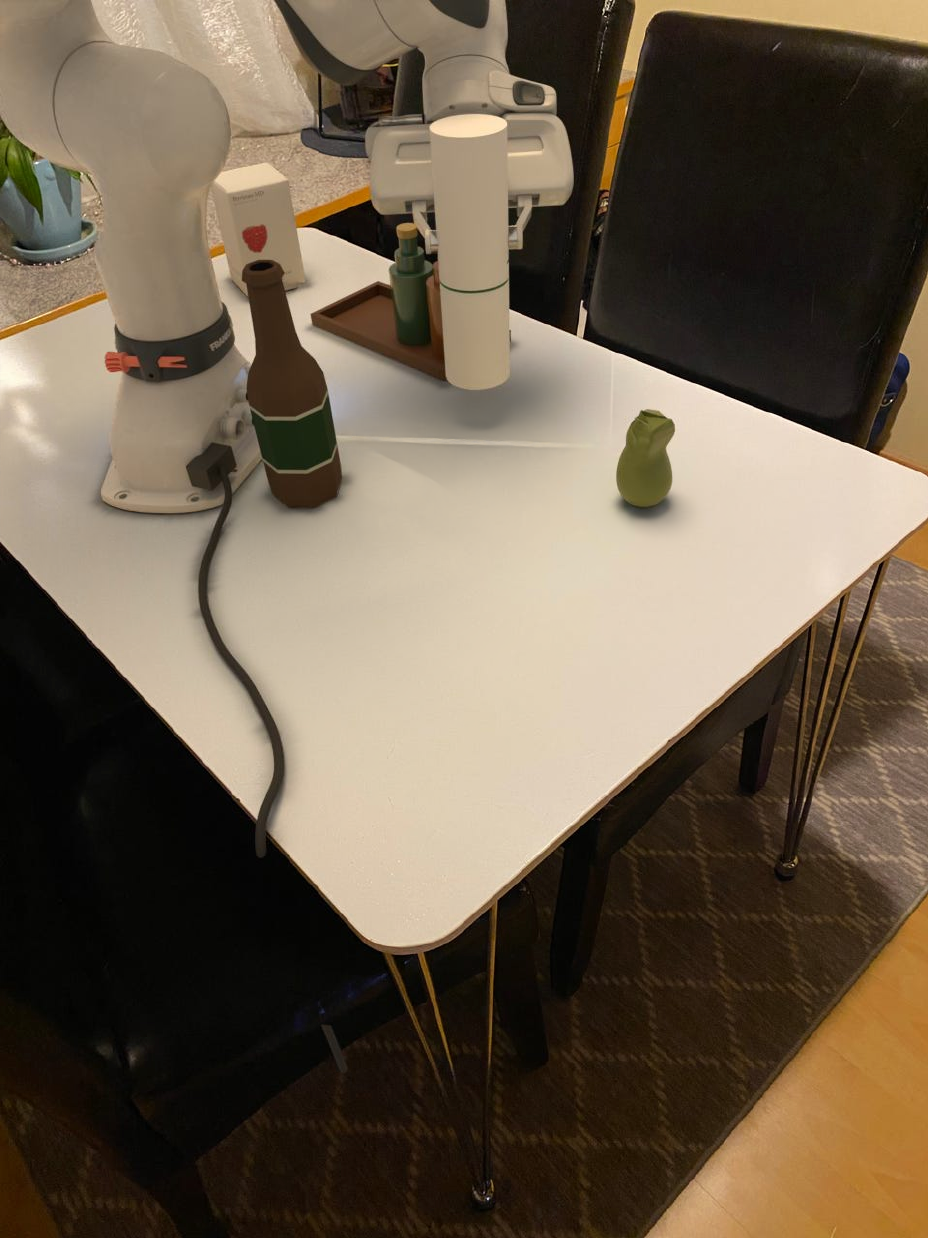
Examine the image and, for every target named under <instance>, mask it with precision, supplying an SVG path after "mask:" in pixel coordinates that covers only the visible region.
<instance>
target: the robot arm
mask: <svg viewBox="0 0 928 1238" xmlns="http://www.w3.org/2000/svg"><path fill="white" fill-rule="evenodd" d="M273 2H274V3H275V5H276V6H277V8H278V10H279V12H280V14H281V16H282V18H283V20H284V22H285V24H286V26H287V29H288V31H289V33H290V35H291V38H292V40H293V43H294V44H295V46H296V48H297V50H298V52H299V54H300V55H301V57H302V58H303V60H304V61H305V63H306V64H307V65H308V66H309V67H310V68H311V69H312V70H313V71H314V72H316V73H317V74H319V75H320V76H322V77H323V78H325V79H327V80H329V81H330V82H333V83H336V84H338V85H341V86H346V87H347V86H348V87H349V86H354V85H357V84H358V83H360V82H361V81H363V80H364V79H365V78H367V77H369V76H370V75H372V74H373V73H374V72H376V71H378V70H379V69H381V68H382V67H383V66H384V65H386V64H387V63H389V62H391V61H394V60H395V59H397V58H399V57H401V56H403V55H405V54H406V53H409V52H411V51H413V50H415V49H417V50H418V51H420V53H422V54H423V57H424V69H423V72H422V78H421V80H422V82H421V83H422V86H421V87H422V104H423V105H422V107H423V112H422V113H417V114H415V113H414V114H405V115H400V116H393V115H385V116H381V117H379V118H378V120H377V121H374V122H372V123H371V124H370V125H369V126H368V128H367V129H366V131H365V134H364V143H365V144H364V145H365V153H366V156H367V158H368V159H369V160H370V168H369V193H370V200H371V203H372V206H373V208H374V209H375V210H376V211H377V212H378V213H379V214H380V215H382V216H387V215H408V214H412V220H413V224H415V225H416V227H417V230H418V231H419V232H420V234H421V236H422V237H423V238H424V243H425V244H424V247H425V253H426V255H433V254H436V255H438V249H439V245H438V241H437V234H436V229H431V227H430V226H429V224H428V213H435V205H434V189H433V174H432V159H431V144H430V129H429V128H430V125H431V124H432V123H433V122H435V121H437V120H440V119H442V118H446V117H450V116H456V115H464V114H484V115H492V116H497V117H500V118H502V119H504V120H505V121H506V122H507V151H508V209H516V216H517V217H518V219H517V221H516V223H515V224H514V225H508V247H509V250H523V246H524V245H523V244H524V243H523V242H524V239H523V238H524V237H523V236H524V235H523V232H524V231H525V229H526V226H527V225H528V222H530V219H531V218H532V210H533V207H535V208H536V207H551V206H554V207H555V206H563V205H565V204H566V203H567V201H568V200H569V198H571V195H572V194H573V190H574V189H573V188H574V184H575V183H574V182H575V181H574V180H575V179H574V177H575V175H574V163H573V157H572V151H571V145H570V141H569V140H570V139H569V136H568V135H569V134H568V132H567V128H566V126H565V124H564V123H563V121H562V120H561V119H560V118H559V117H558V116H557V113H558V111H557V109H558V108H557V107H558V103H557V102H558V101H557V92H556V90H555V88H554V87H552V86H550V85H547V84H544V83H539V82H536V81H532V80H528V79H525V78H521V77H518V76H515V75H513V74H511V73H510V69H509V66H508V64H507V59H506V51H507V46H508V41H509V40H508V39H509V31H508V30H509V29H508V13H507V4H506V0H273ZM0 118H1V120H2V122H3V123H4V125H5V127H6V128H7V129H8V131H9V132H10V133H11V134H12V136H13V137H15V139H17V141H19V142H20V143H21V144H23V145H24V146H25V147H27V148H28V149H30V150H31V151H32V152H34V153H35V154H37V155H38V156H40V157H42V158H43V159H44V160H46V161H48V162H49V163H51V164H54V165H55V166H58V167H60V168H63V169H67V170H71V171H73V172H74V171H75V172H78V173H82V174H85V175H88V176H92V178H93V179H94V181H95V182H96V184H97V186H98V188H99V191H100V194H101V201H102V209H103V231H102V232H101V233H100V234H99V236H98V237H97V239H96V241H95V244H94V246H93V247H94V248H93V260H94V264H95V267H96V270H97V273H98V275H99V279H100V282H101V285H102V287H103V291H104V294H105V296H106V298H107V303H108V304H109V308H110V310H111V311H110V312H111V313H112V315H113V319H114V322H115V324H114V326H113V329H114V345H115V350H116V351H107V352H106V353H105V355H104V365H105V368H106V370H107V371H108V372H109V373H117V372H121V375H120V381H119V385H118V389H117V395H116V400H115V406H114V411H113V416H112V421H111V427H110V433H109V438H108V439H109V448H110V452H111V456H112V459H111V462H110V464H109V467H108V470H107V473H106V475H105V477H104V481H103V483H102V485H101V489H100V496H101V499H102V501H103V502H105V503H106V504H108V505H109V506H112V507H115V508H117V509H121V510H125V511H131V512H137V513H151V514H183V513H193V512H200V511H205V510H209V509H212V508H213V509H214V508H216V507H219V506H221V505H222V507H221V510H220V512H219V514H218V517H217V519H216V521H215V524H214V527H213V529H212V533H211V535H210V538H209V541H208V543H207V546H206V548H205V550H204V554H203V556H202V559H201V563H200V567H199V572H198V581H197V582H198V583H197V591H198V592H197V593H198V594H197V595H198V603H199V609H200V612H201V616H202V619H203V621H204V625H205V627H206V629H207V632H208V634H209V636H210V639H211V641H212V643H213V645H214V646H215V648H216V650H217V652H218V653H219V655H220V656H221V657H222V658H223V661H225V662H226V664H227V666H229V667H230V669H231V670H232V671H233V672H234V673H235V674H236V676H237V677H238V678H239V680H240V681H241V683H242V684H243V686H244V688H246V690H247V692H248V694H249V696H250V698H251V700H252V701H253V703H254V706H255V708H256V709H257V711H258V713H259V715H260V717H261V719H262V721H263V723H264V725H265V727H266V730H267V732H268V736H269V739H270V743H271V747H272V754H273V774H272V777H271V781H270V783H269V786H268V789H267V791H266V793H265V795H264V798H263V799H262V802H261V805H260V807H259V810H258V814H257V818H256V823H255V832H254V833H255V834H254V841H255V842H254V844H255V845H254V847H255V856H256V857H258V858H259V859H260V858H263V857H265V856H266V855H267V851H268V849H267V839H266V838H267V826H266V825H267V824H268V819H269V815H270V812H271V810H272V807H273V805H274V803H275V800H276V798H277V795H278V793H279V792H280V788H281V786H282V782H283V779H284V774H285V773H284V772H285V757H284V754H285V753H284V747H283V742H282V739H281V735H280V732H279V729H278V726H277V724H276V722H275V719H274V717H273V716H272V713H271V712H270V710H269V708H268V705H267V704H266V702H265V701H264V700H265V699H264V698H263V696H262V695H261V693H260V691H259V688H258V687H257V686H256V684H255V683H254V681H253V679H252V678H251V676H250V675H249V673H247V671H246V670H245V668H243V666H242V665H241V664H240V663H239V661H238V660H237V658H235V657H234V655H233V654H232V653H231V652H230V651H229V649H228V648H227V646H226V644H225V643H224V641H223V638H222V637H221V635H220V633H219V631H218V628H217V626H216V624H215V621H214V618H213V616H212V612H211V609H210V606H209V599H208V591H207V590H208V586H207V585H208V584H207V582H208V580H207V579H208V571H209V568H210V567H209V566H210V563H211V560H212V557H213V554H214V552H215V550H216V547H217V544H218V542H219V538H220V535H221V533H222V530H223V528H224V524H225V522H226V521H227V518H228V516H229V513H230V511H231V508H232V503H233V494H234V493H235V492H236V491H237V489H238V488H239V487H240V486H241V485H242V483H243V482H244V481H245V480H247V479H246V478H248V476H249V475H250V474H251V473H252V471H253V470H255V468H256V467H257V466H258V465H259V463H260V462H261V460H263V459H262V455H261V451H260V447H259V443H258V439H257V435H256V431H255V427H254V423H253V419H252V415H251V411H250V407H249V402H248V396H247V389H246V386H247V379H248V372H249V370H250V367H251V365H252V363H251V362H250V361H249V360H247V358H246V357H245V356H244V355H243V354H242V352H241V351H240V350H239V349H238V347H237V346H236V345H235V342H236V336H235V331H234V324H233V320H232V317H231V315H230V313H229V310H228V307H227V305H226V303H224V302H223V301H222V297H221V293H220V290H219V285H218V281H217V277H216V273H215V268H214V263H213V260H212V255H211V252H210V251H211V250H210V246H209V239H208V230H207V229H208V228H207V208H208V200H209V194H210V193H209V192H210V190H211V184H212V183H213V181H214V180H215V179H216V178H217V177H218V176H219V174H220V173H221V172H223V169H224V168H225V165H226V163H227V160H228V157H229V154H230V150H231V143H232V142H231V141H232V126H231V119H230V114H229V111H228V107H227V105H226V102H225V99H224V98H223V96H222V94H221V92H220V91H219V89H218V87H217V86H216V85H215V83H213V81H212V80H211V79H210V78H208V77H207V76H206V75H205V74H204V73H202V72H201V71H199V70H197V69H195V68H194V67H192V66H190V65H188V64H187V63H185V62H183V61H182V60H179V59H177V58H175V57H173V56H171V55H169V54H168V53H165V52H163V51H159V50H155V49H149V48H145V47H144V48H143V47H138V46H130V45H125V44H119V43H116V42H115V41H113V39H112V38H111V37H109V35H108V34H107V33H106V32H105V30H104V29H103V27H102V26H101V24H100V22H99V19H98V17H97V14H96V11H95V8H94V5H93V2H92V0H0ZM320 1026H321V1028H322V1031H323V1033H324V1036H325V1038H326V1040H327V1042H328V1045H329V1047H330V1049H331V1052H332V1054H333V1057H334V1059H335V1062H336V1064H337V1067H338V1069H339V1072H340V1073H341V1074H346V1073H347V1072H348V1070H349V1068H348V1065H347V1062H346V1060H345V1057H344V1055H343V1052H342V1050H341V1047H340V1045H339V1042H338V1040H337V1037H336V1034H335V1033H334V1030H333V1028H332V1025H329V1024H320Z"/></svg>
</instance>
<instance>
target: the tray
mask: <svg viewBox="0 0 928 1238" xmlns="http://www.w3.org/2000/svg"><path fill="white" fill-rule="evenodd" d="M310 320H311V324H312V326H314V327H316V328H319V329H321V330H324V331H325V332H328V333H331V334H333V335H335V336H337V337H340V338H342V339H345V340H347V341H349V342H351V343H354V344H356V345H358V346H361V347H364V348H366V349H368V350H370V351H372V352H375V353H377V354H379V355H382V356H384V357H387V358H388V359H391V360H393V361H396V362H397V363H400V364H403V365H405V366H408V367H409V368H412V369H415V370H417V371H419V372H422V373H424V374H426V375H428V376H431V377H433V378H435V379H437V380H441V381H442V382H445V381H446V380H447V378H446V371H445V360H441V359H438V358H436V357H435V356H434V355H433V354H432V348H431V342H430V343H427V344H423V345H414V346H413V345H405V344H402V343H400V342H399V341H398V340H397V338H396V332H395V323H394V314H393V305H392V296H391V287H390V284H387V283H384V282H382V281H378V280H377V281H375V282H373V283H371V284H369V285H367V286H365V287H363V288H361V289H359V290H357V291H355V292H353V293H350V294H348V295H346V296H344V297H342V298H340V299H338V300H337V301H334V302H331V303H330V304H328V305H326V306H324V307H322V308H319V309H318V310H316V311H313V312H312V313H310ZM511 331H512V329H510V342H512V332H511ZM447 381H448V380H447Z"/></svg>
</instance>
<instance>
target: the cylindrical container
mask: <svg viewBox="0 0 928 1238" xmlns="http://www.w3.org/2000/svg"><path fill="white" fill-rule="evenodd" d="M429 129H430V144H431V159H432V174H433V189H434V205H435V212H434V220H435V230H436V234H437V241H438V245H439V249H438V253H437V261H438V265H439V281H440V296H441V311H442V326H443V341H444V356H445V371H446V378H447V381H448V382H449V384H451V385H452V386H454V387H457V388H459V389H463V390H470V391H472V390H473V391H480V390H488V389H491V388H495V387H498V386H500V385H502V384H504V383H505V382H506V381H507V380H508V379H509V378H510V375H511V351H510V350H511V343H510V342H511V341H510V330H511V329H510V257H509V255H510V252H509V250H510V249H509V247H508V226H509V208H508V151H507V122H506V121H505V120H504V119H502V118H500V117H497V116H492V115H484V114H464V115H456V116H450V117H446V118H442V119H440V120H437V121H435V122H433V123H432V124H431V125H430V128H429Z"/></svg>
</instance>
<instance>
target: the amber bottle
mask: <svg viewBox="0 0 928 1238" xmlns="http://www.w3.org/2000/svg"><path fill="white" fill-rule="evenodd" d="M432 266H433V276H431V277H429V278H428V279H427V281H426V288H427V300H428V312H429V324H430V336H431V348H432V354H433V355H434V356H435V357H436V358H438V359H441V360H445V356H444V341H443V326H442V311H441V296H440V281H439V265H438V260H437V261H434V262H433V264H432Z"/></svg>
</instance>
